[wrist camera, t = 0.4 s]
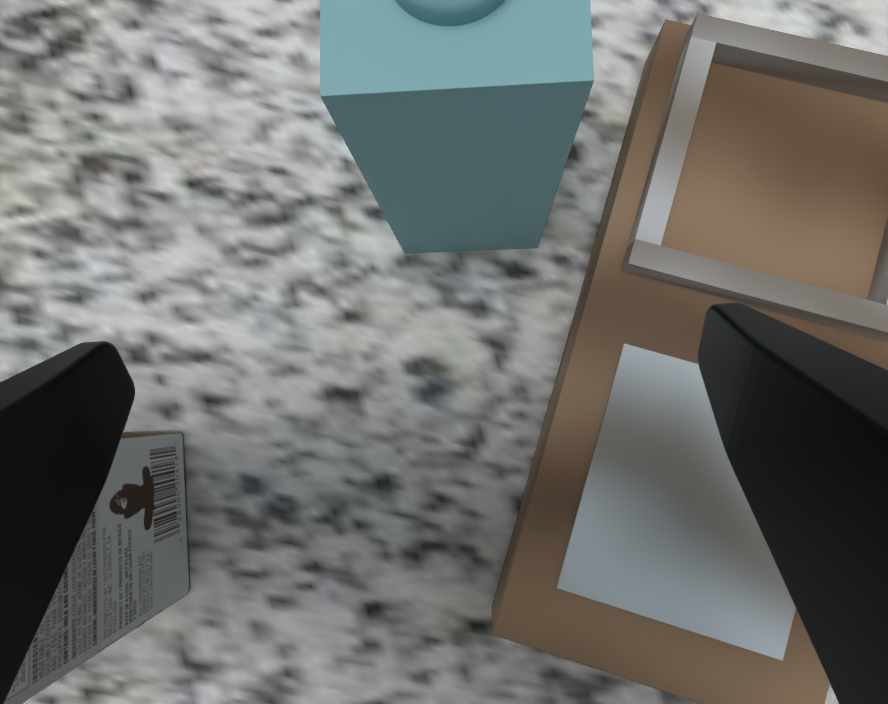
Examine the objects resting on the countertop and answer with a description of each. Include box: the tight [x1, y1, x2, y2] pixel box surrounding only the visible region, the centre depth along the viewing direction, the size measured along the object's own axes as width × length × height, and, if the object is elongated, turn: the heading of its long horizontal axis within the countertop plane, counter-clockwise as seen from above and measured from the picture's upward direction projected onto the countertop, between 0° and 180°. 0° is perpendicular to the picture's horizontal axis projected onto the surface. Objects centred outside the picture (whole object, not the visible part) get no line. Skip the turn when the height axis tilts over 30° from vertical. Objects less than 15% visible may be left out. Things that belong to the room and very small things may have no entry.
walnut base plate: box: [492, 14, 888, 704], centre depth 19 cm, size 21×10×4 cm, turn 164°
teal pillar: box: [320, 0, 594, 253], centre depth 16 cm, size 5×5×12 cm
